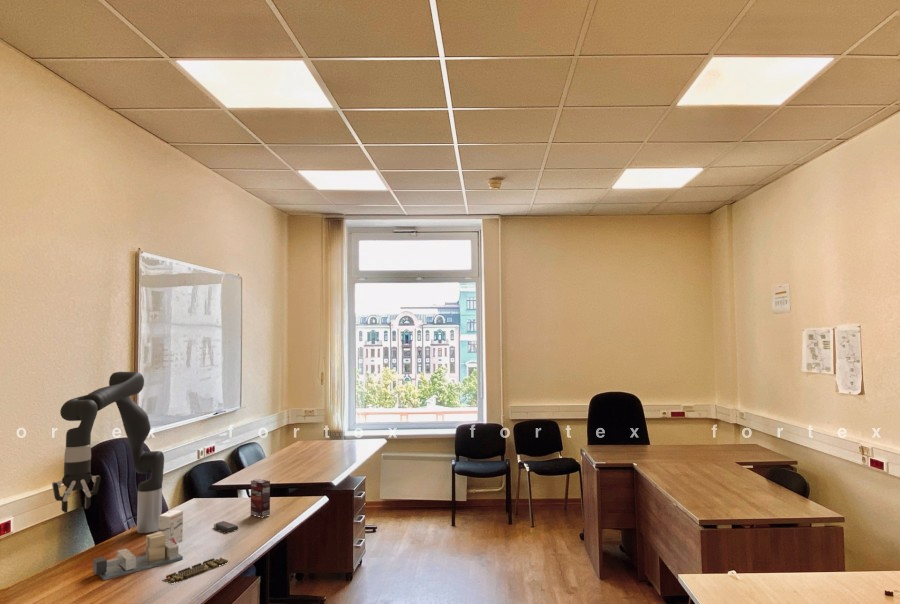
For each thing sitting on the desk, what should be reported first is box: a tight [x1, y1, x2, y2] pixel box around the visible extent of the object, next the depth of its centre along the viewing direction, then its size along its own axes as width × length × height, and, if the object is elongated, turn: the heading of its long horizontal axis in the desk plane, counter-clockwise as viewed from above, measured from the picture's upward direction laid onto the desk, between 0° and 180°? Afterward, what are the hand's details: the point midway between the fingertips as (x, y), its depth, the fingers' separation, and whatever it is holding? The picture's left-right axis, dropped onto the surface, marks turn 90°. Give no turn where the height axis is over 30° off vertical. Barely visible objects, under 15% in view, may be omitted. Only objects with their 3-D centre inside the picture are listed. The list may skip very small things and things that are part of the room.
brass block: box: [145, 532, 165, 561], centre depth 200 cm, size 5×5×8 cm
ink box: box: [158, 509, 184, 544], centre depth 218 cm, size 9×5×12 cm, turn 168°
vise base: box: [98, 539, 184, 581], centre depth 196 cm, size 12×25×5 cm, turn 134°
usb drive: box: [213, 520, 239, 534], centre depth 234 cm, size 5×12×3 cm, turn 52°
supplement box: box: [250, 478, 271, 517], centre depth 253 cm, size 9×5×16 cm, turn 55°
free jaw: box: [92, 548, 136, 576], centre depth 191 cm, size 12×11×4 cm
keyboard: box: [162, 557, 229, 584], centre depth 190 cm, size 22×9×2 cm, turn 147°
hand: (76, 510), depth 184 cm, fingers open, 5 cm apart
